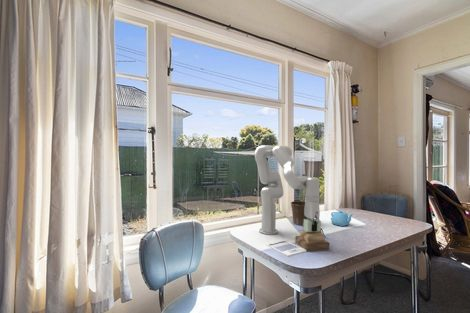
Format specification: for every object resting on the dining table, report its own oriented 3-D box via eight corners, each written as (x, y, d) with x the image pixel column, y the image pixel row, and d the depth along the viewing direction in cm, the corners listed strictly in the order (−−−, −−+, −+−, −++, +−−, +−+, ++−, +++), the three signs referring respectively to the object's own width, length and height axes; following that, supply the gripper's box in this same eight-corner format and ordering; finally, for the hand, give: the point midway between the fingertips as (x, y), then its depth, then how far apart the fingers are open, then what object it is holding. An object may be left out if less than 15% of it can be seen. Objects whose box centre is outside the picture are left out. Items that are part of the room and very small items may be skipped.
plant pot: (309, 228, 182) (309, 206, 182) (287, 224, 190) (287, 203, 190) (313, 222, 196) (314, 202, 196) (293, 219, 204) (294, 200, 204)
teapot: (349, 214, 180) (326, 209, 194) (348, 229, 180) (326, 223, 195) (357, 212, 188) (335, 208, 202) (357, 226, 188) (335, 221, 202)
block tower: (295, 242, 151) (295, 229, 151) (316, 241, 154) (316, 228, 154) (306, 251, 137) (306, 237, 137) (329, 249, 140) (329, 235, 140)
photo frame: (287, 255, 131) (266, 244, 146) (287, 257, 131) (266, 246, 146) (307, 249, 138) (285, 240, 153) (307, 251, 138) (285, 241, 153)
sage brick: (303, 229, 147) (303, 219, 147) (315, 228, 149) (316, 218, 149) (307, 231, 142) (308, 221, 142) (320, 231, 144) (320, 220, 144)
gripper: (299, 196, 153) (299, 225, 153) (314, 201, 136) (313, 234, 136) (310, 196, 154) (310, 225, 155) (326, 201, 138) (325, 233, 138)
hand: (311, 229), depth 145 cm, fingers closed on sage brick, 4 cm apart
